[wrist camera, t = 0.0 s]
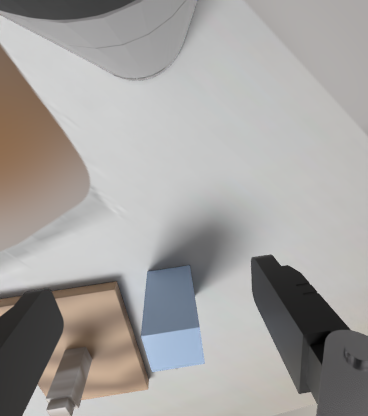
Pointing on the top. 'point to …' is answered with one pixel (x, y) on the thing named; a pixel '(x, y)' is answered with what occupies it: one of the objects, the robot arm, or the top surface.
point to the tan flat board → (90, 349)
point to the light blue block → (171, 320)
